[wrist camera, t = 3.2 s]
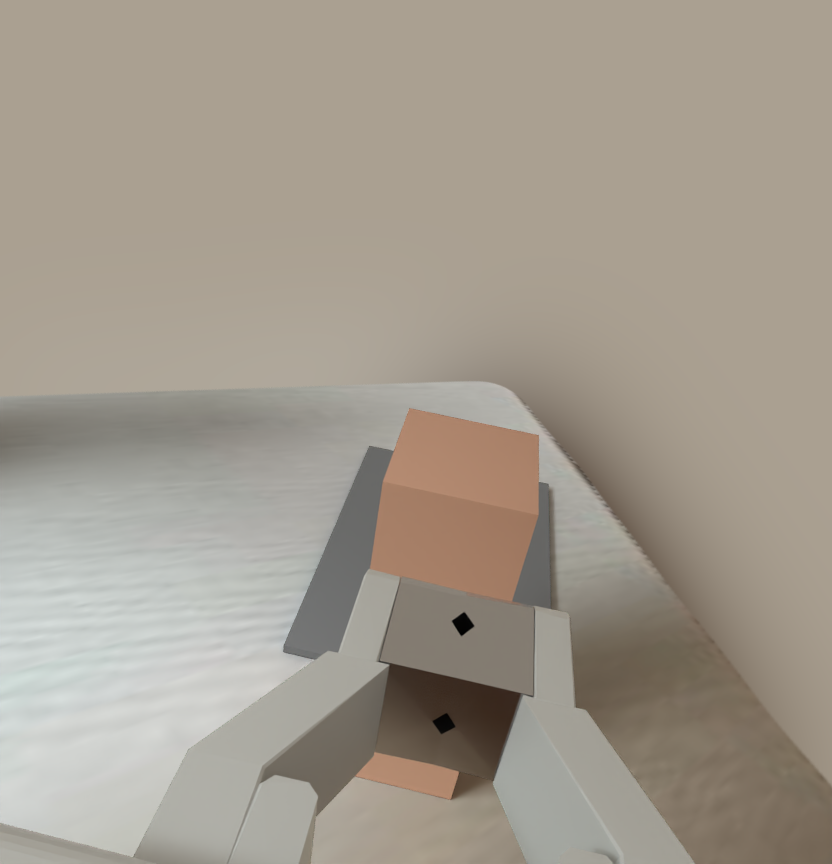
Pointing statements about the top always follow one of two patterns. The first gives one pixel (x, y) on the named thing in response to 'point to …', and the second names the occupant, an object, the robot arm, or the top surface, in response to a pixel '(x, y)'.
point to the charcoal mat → (351, 559)
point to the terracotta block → (453, 531)
